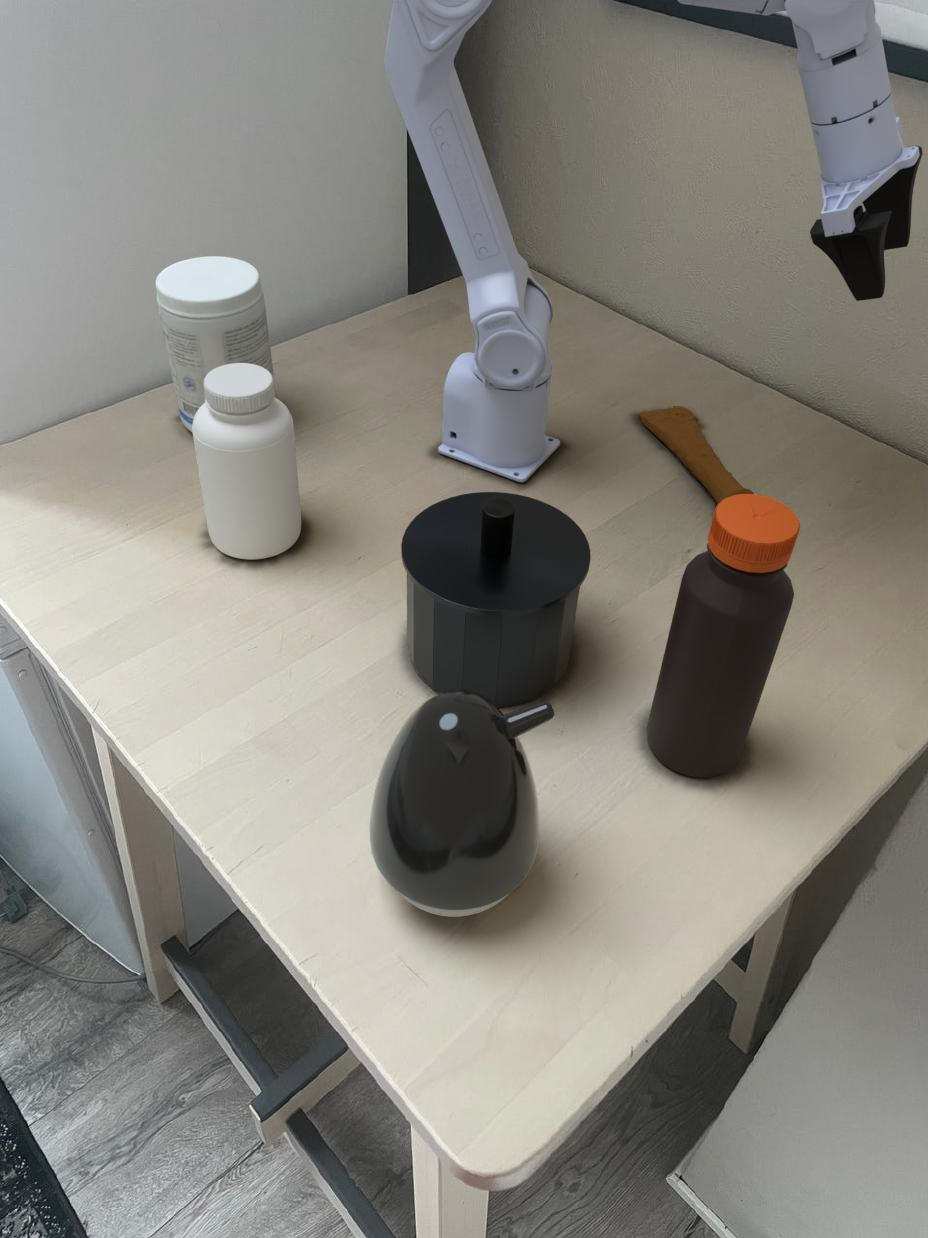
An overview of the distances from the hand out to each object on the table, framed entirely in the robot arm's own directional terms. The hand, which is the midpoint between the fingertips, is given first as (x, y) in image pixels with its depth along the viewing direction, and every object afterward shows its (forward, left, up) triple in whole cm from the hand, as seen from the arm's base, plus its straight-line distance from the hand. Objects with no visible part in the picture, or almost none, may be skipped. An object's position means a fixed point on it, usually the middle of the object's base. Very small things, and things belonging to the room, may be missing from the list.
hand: (882, 271), depth 84 cm
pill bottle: (-39, -35, -21) cm, 56 cm away
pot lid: (-15, -36, -11) cm, 41 cm away
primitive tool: (-11, -4, -21) cm, 24 cm away
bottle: (+2, -37, -21) cm, 43 cm away
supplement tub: (-53, -22, -21) cm, 61 cm away
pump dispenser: (-7, -55, -21) cm, 59 cm away
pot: (-15, -36, -21) cm, 45 cm away
